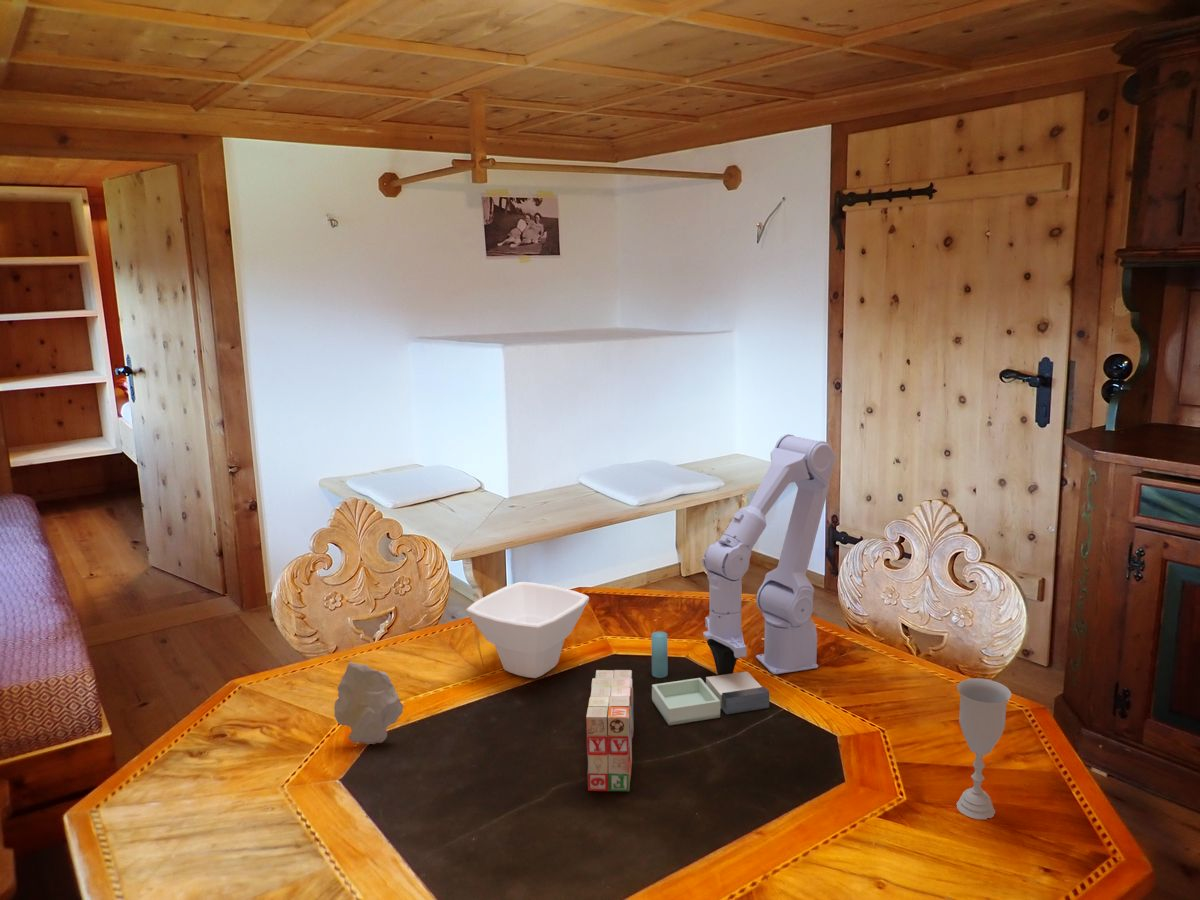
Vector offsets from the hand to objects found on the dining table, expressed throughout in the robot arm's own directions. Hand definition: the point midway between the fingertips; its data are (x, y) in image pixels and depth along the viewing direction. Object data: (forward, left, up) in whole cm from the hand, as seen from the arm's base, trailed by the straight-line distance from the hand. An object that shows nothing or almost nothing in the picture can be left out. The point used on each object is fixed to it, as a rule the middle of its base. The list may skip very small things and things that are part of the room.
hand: (724, 678), depth 163 cm
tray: (+10, +6, -1) cm, 12 cm away
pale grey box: (0, +5, -2) cm, 5 cm away
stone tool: (+63, +2, -2) cm, 63 cm away
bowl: (+33, -17, -2) cm, 37 cm away
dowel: (+10, -8, -1) cm, 13 cm away
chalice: (-19, +45, -2) cm, 49 cm away
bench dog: (0, +9, -1) cm, 9 cm away
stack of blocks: (+26, +16, -2) cm, 31 cm away
